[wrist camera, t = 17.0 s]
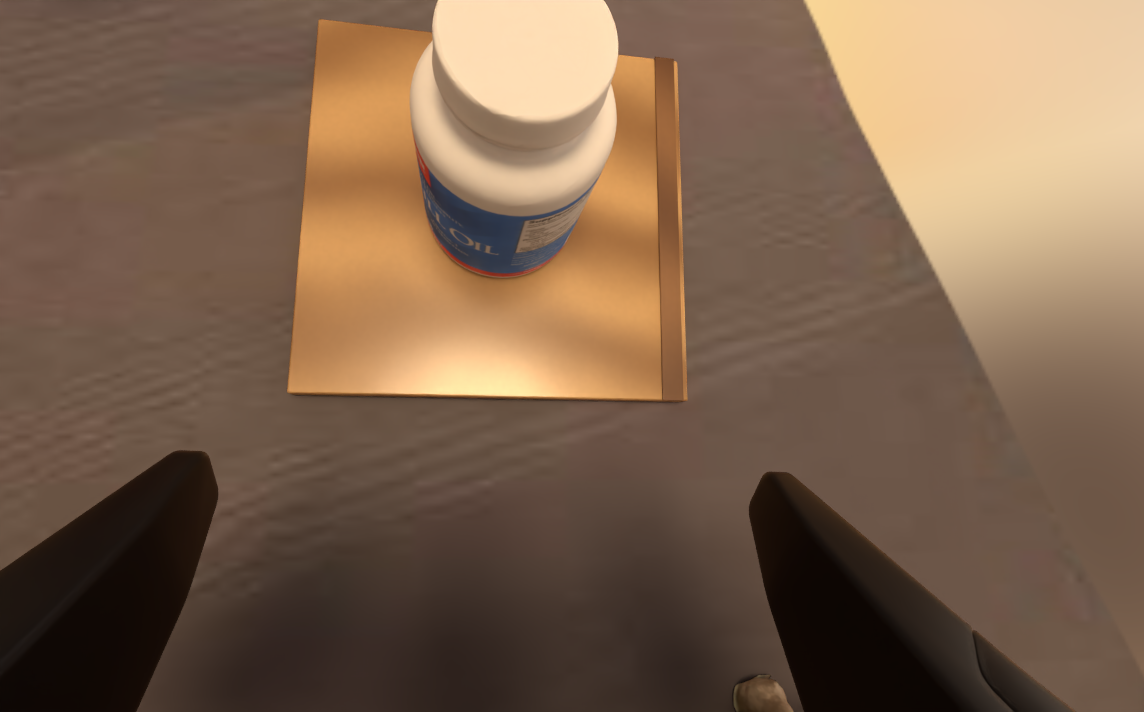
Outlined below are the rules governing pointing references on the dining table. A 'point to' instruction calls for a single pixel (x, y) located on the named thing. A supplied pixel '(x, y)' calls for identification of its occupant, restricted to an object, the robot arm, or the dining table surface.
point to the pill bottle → (512, 126)
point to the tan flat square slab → (464, 298)
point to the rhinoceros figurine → (760, 696)
